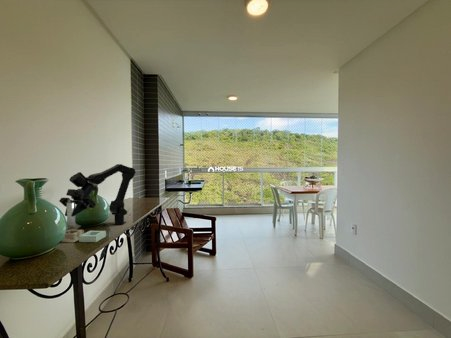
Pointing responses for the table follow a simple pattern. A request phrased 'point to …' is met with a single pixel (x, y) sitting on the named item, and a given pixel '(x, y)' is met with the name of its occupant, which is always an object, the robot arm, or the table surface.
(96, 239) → the socket block
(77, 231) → the brown square frame
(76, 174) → the robot arm
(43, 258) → the table surface
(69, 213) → the axle
